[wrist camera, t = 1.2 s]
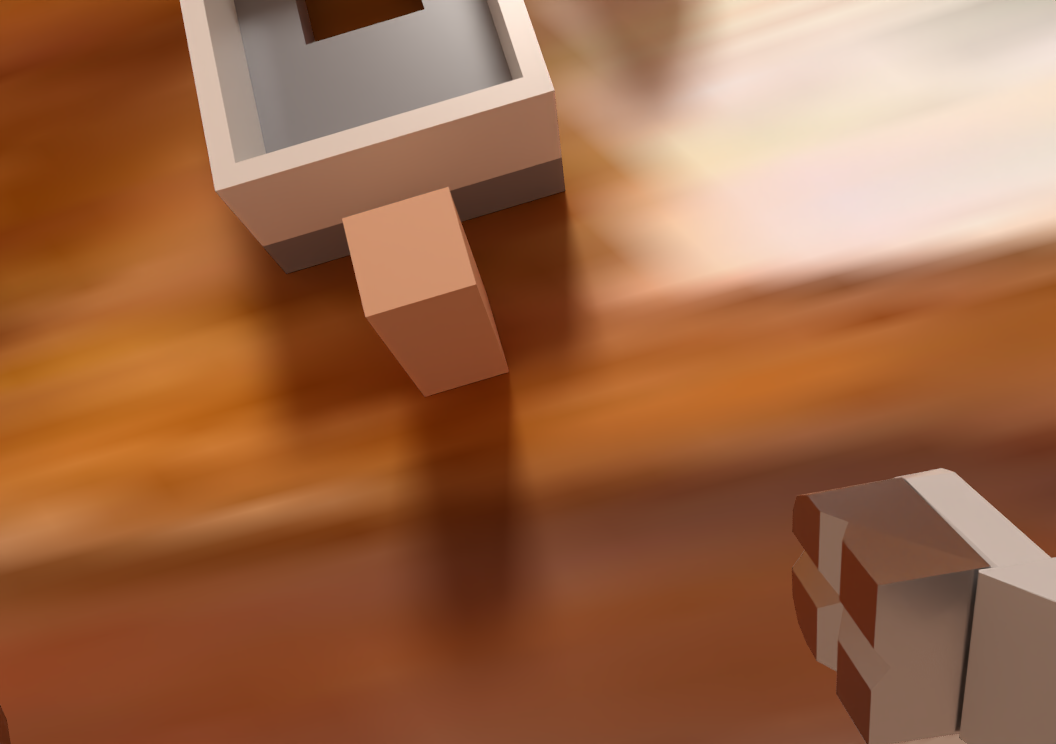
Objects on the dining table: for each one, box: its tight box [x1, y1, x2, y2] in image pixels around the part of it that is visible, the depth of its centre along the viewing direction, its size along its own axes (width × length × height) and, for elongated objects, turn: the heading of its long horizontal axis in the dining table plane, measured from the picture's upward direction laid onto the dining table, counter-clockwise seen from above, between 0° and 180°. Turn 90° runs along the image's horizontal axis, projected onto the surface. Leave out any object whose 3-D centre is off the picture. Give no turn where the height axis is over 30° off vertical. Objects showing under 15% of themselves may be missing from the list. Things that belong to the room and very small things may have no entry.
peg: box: [342, 187, 509, 397], centre depth 36 cm, size 4×4×10 cm
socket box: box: [180, 0, 565, 274], centre depth 42 cm, size 14×18×8 cm
